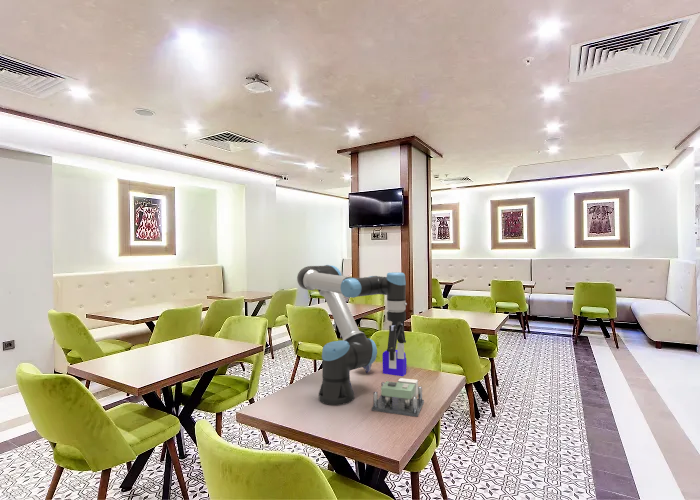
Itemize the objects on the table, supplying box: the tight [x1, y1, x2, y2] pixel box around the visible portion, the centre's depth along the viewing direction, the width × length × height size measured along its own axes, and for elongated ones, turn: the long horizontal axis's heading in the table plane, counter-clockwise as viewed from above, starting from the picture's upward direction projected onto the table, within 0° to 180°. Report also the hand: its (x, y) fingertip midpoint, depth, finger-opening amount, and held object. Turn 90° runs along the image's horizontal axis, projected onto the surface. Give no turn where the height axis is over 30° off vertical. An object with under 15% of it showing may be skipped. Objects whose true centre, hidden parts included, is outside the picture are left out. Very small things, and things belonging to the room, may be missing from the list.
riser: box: [397, 377, 419, 398], centre depth 162 cm, size 8×4×6 cm, turn 69°
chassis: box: [371, 381, 425, 418], centre depth 149 cm, size 18×14×7 cm
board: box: [380, 381, 415, 399], centre depth 149 cm, size 12×8×4 cm, turn 69°
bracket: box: [382, 349, 407, 377], centre depth 196 cm, size 18×11×12 cm, turn 153°
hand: (396, 363), depth 150 cm, fingers open, 13 cm apart
